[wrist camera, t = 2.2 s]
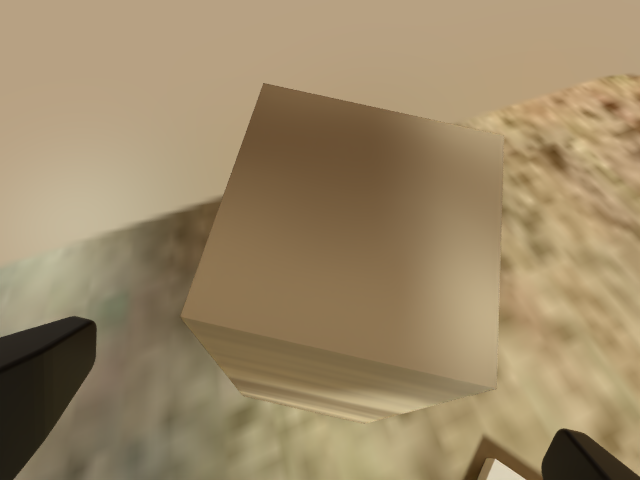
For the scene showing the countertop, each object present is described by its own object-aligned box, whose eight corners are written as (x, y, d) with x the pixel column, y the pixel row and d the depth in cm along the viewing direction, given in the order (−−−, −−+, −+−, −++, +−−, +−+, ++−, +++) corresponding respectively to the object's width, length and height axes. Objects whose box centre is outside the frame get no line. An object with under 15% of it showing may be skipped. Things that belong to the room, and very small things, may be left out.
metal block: (364, 423, 18) (496, 388, 7) (242, 395, 18) (179, 316, 7) (381, 305, 20) (504, 135, 9) (273, 281, 20) (263, 83, 9)
